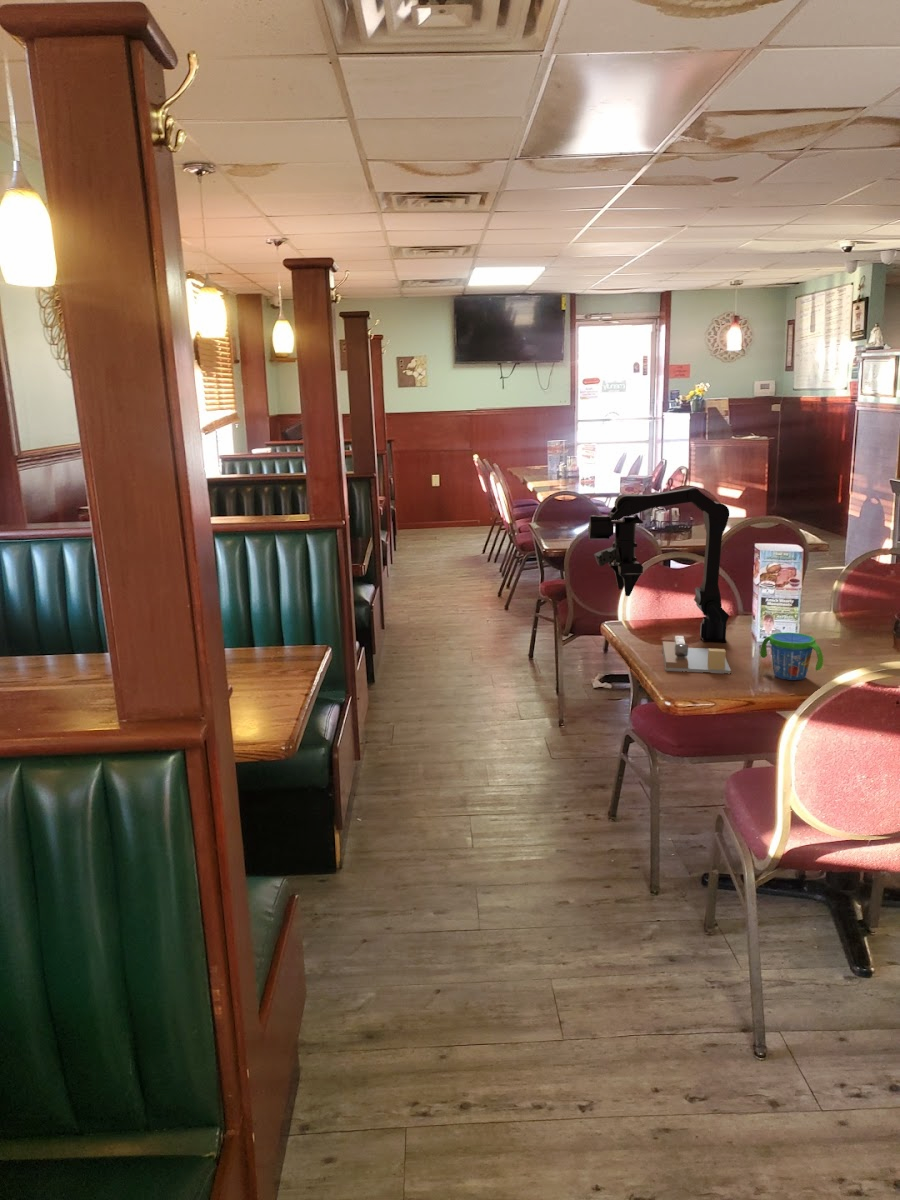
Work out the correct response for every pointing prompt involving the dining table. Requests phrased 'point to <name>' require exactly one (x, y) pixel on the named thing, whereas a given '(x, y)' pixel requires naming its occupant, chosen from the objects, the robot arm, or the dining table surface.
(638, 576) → the robot arm
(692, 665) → the door board
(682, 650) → the latch bar
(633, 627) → the dining table surface
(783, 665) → the snack cup
